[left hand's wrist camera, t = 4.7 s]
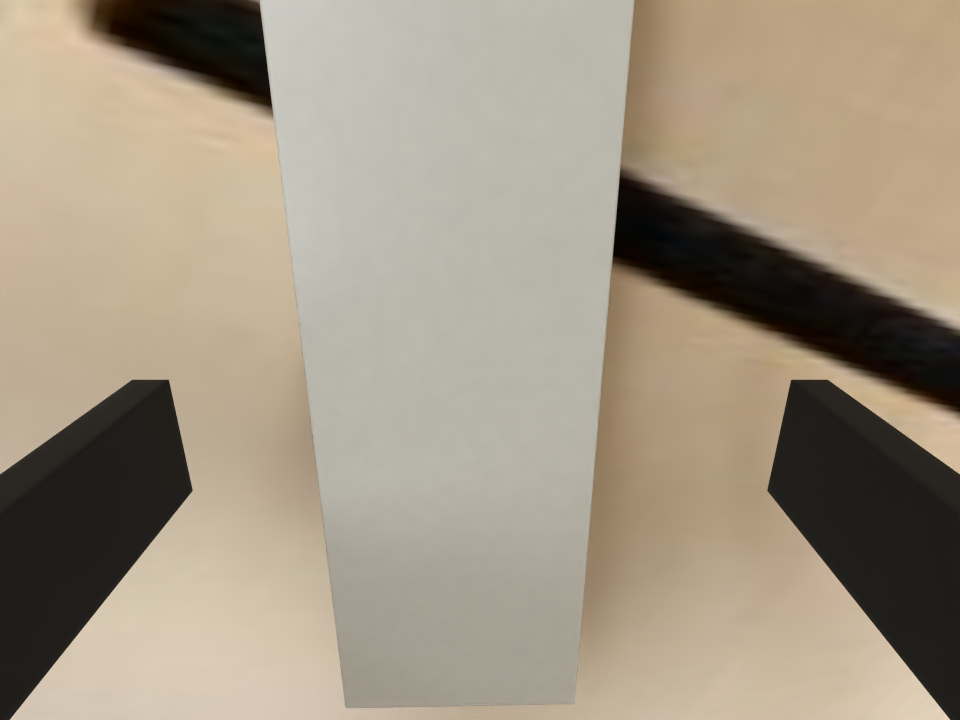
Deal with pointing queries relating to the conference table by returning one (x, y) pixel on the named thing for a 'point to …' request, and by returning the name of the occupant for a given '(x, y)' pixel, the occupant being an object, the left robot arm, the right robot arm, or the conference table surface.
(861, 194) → the conference table surface
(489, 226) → the bar
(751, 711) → the conference table surface
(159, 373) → the conference table surface
